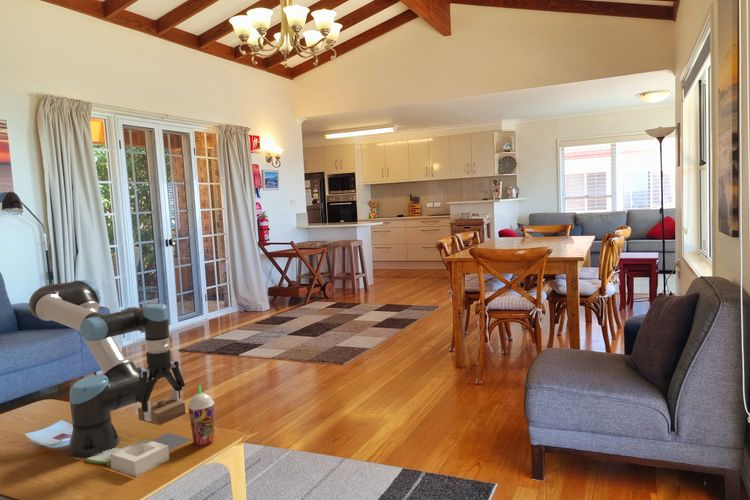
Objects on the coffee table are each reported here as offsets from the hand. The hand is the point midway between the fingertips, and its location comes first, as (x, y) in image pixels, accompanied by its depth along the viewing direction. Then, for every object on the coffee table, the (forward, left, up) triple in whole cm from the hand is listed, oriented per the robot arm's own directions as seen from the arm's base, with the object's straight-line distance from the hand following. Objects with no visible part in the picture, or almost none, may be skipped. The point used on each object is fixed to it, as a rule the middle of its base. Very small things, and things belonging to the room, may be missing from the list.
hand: (162, 414), depth 188 cm
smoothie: (+12, +6, -10) cm, 17 cm away
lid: (0, 0, -1) cm, 1 cm away
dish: (+6, -14, -10) cm, 18 cm away
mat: (0, 0, -10) cm, 10 cm away
